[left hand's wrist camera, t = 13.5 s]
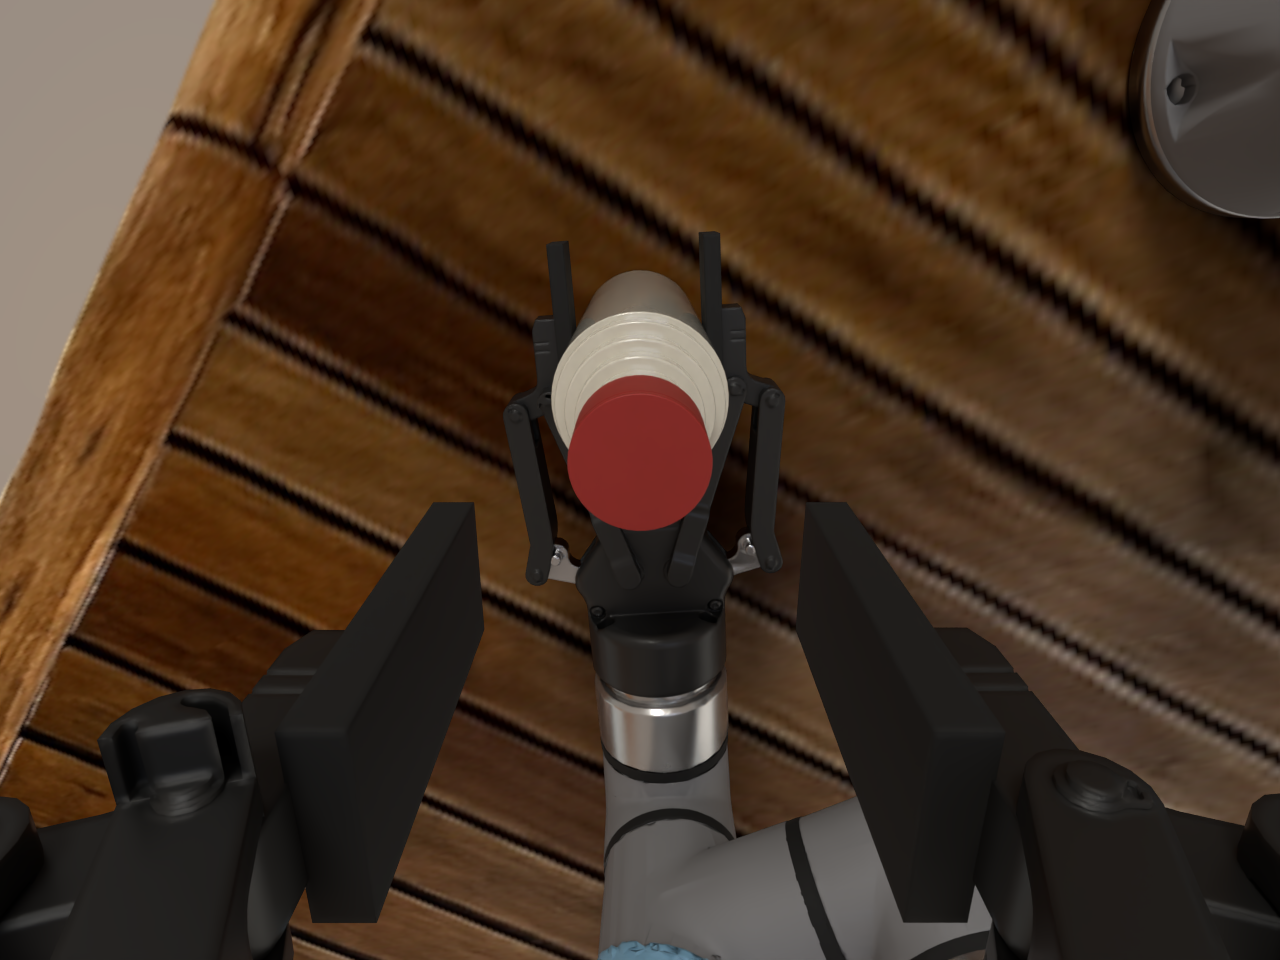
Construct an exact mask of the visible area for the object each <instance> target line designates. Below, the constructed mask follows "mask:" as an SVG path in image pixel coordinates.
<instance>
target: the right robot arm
mask: <svg viewBox="0 0 1280 960" xmlns="http://www.w3.org/2000/svg"><path fill="white" fill-rule="evenodd" d="M546 248H547V257H548V267H549V277H550V287H551V297H552V307H553V315H547V316H538V318H537V319H536V320H535V323H534V326H533V330H532V334H533V343H534V351H535V361H536V370H537V386H536V387H534V388H532V389H530V390H528V391H526V392H523V393H518V394H516V395H515V396H514V397H513V398H512V399H511V401H510V402H509V404H508V405H507V407H506V408H505V410H504V413H503V419H504V423H505V428H506V433H507V437H508V442H509V447H510V451H511V456H512V461H513V465H514V470H515V475H516V479H517V484H518V489H519V493H520V498H521V503H522V507H523V512H524V517H525V521H526V526H527V531H528V535H529V540H530V551H529V557H528V563H527V568H526V579H527V581H528V582H529V583H530V584H532V585H535V586H540V585H543V584H544V583H545V582H546V581H547V579H554V580H559V581H565V582H570V583H575V584H576V587H577V589H578V591H579V592H580V594H581V595H582V596H583V598H584V599H585V601H586V604H587V608H588V617H589V627H590V637H591V648H592V658H593V665H594V669H595V671H596V675H595V690H596V699H597V708H598V717H599V727H600V734H601V744H602V749H603V760H604V776H605V791H606V827H605V845H604V876H605V885H604V897H603V908H602V919H601V930H600V942H599V953H598V959H597V960H984V955H985V950H986V946H987V941H988V937H989V932H990V927H991V923H992V918H991V916H990V914H989V912H988V910H987V908H986V906H985V904H984V902H983V900H982V898H981V896H980V894H979V892H978V890H977V888H976V886H975V888H974V893H973V898H972V903H971V908H970V913H969V918H968V923H903V921H902V918H901V915H900V912H899V910H898V907H897V904H896V901H895V899H894V896H893V893H892V891H891V888H890V885H889V882H888V880H887V877H886V874H885V871H884V869H883V866H882V863H881V861H880V858H879V855H878V852H877V850H876V847H875V844H874V841H873V839H872V836H871V833H870V831H869V828H868V825H867V822H866V820H865V817H864V814H863V811H862V809H861V806H860V803H859V800H858V798H857V796H856V797H854V798H851V799H848V800H846V801H843V802H841V803H838V804H835V805H833V806H830V807H827V808H825V809H822V810H820V811H817V812H814V813H812V814H809V815H807V816H804V817H798V818H795V819H792V820H790V821H785V822H782V823H779V824H776V825H774V826H771V827H768V828H765V829H762V830H759V831H757V832H754V833H751V834H748V835H745V836H742V837H740V838H737V839H736V833H735V827H734V820H733V813H732V806H731V796H730V780H729V763H728V747H727V742H728V699H727V671H726V668H725V665H724V664H725V661H726V632H725V595H726V592H727V589H728V587H729V586H730V584H731V582H732V580H733V576H734V575H735V574H739V573H742V572H745V571H748V570H752V569H755V568H758V567H761V569H762V570H763V571H765V572H768V573H774V572H776V571H778V570H779V569H780V568H781V566H782V564H783V562H782V557H781V553H780V550H779V547H778V544H777V540H776V537H775V534H774V523H775V512H776V500H777V489H778V477H779V466H780V455H781V443H782V432H783V420H784V409H785V396H784V394H783V393H782V391H781V390H780V388H779V387H778V386H777V385H776V383H775V382H774V381H773V380H772V379H770V378H761V377H758V376H754V375H752V374H750V373H748V372H747V369H746V331H745V329H746V322H745V316H744V313H743V311H742V308H741V307H740V306H739V305H738V304H722V294H721V254H720V233H718V232H715V231H711V232H699V256H700V285H701V315H702V326H703V328H704V330H705V332H706V334H707V336H708V338H709V340H710V342H711V344H712V346H713V348H714V349H715V351H716V353H717V355H718V357H719V359H720V361H721V364H722V366H723V369H724V371H725V375H726V379H727V383H728V391H729V406H728V413H727V418H726V421H725V425H724V428H723V430H722V432H721V435H720V437H719V439H718V440H717V442H716V444H715V445H714V447H713V448H712V457H713V468H712V474H711V479H710V482H709V485H708V487H707V490H706V492H705V494H704V495H703V497H702V499H701V500H700V502H699V503H698V504H697V505H696V506H695V508H694V509H693V510H691V511H690V512H689V513H688V514H687V515H686V516H684V517H683V518H682V519H680V520H678V521H676V522H675V523H673V524H670V525H668V526H665V527H662V528H659V529H655V530H647V531H633V530H626V529H621V528H618V527H615V526H612V525H610V524H608V523H606V522H604V521H602V520H600V519H599V518H597V517H596V516H594V515H593V514H592V513H591V512H590V511H588V512H589V514H590V518H591V522H592V525H593V527H594V530H595V532H596V534H597V536H596V537H595V539H594V540H593V542H592V543H591V545H590V546H589V548H588V549H587V551H586V552H585V554H584V555H583V557H582V558H581V560H578V559H575V558H574V557H573V556H572V555H571V553H570V549H569V544H568V543H567V541H566V540H564V539H563V538H557V532H558V522H557V515H556V510H555V505H554V500H553V495H552V490H551V485H550V480H549V475H548V470H547V465H546V460H545V455H544V450H543V445H542V440H541V435H540V430H539V424H538V419H537V418H538V417H541V416H543V415H544V416H545V419H546V421H547V423H548V425H549V427H550V429H551V432H552V434H553V436H554V438H555V440H556V442H557V445H558V447H559V449H560V451H561V453H562V455H563V458H564V460H565V462H566V464H567V459H568V448H567V447H566V445H565V443H564V442H563V440H562V438H561V436H560V434H559V432H558V430H557V427H556V424H555V421H554V417H553V412H552V403H551V393H552V384H553V379H554V375H555V372H556V369H557V366H558V364H559V362H560V360H561V358H562V356H563V354H564V352H565V350H566V348H567V346H568V344H569V342H570V340H571V338H572V336H573V334H574V332H575V330H576V320H575V309H574V298H573V287H572V276H571V265H570V254H569V243H568V241H559V242H551V243H549V244H547V245H546ZM744 403H746V404H749V405H752V413H751V427H750V441H749V455H748V469H747V483H746V496H745V518H746V523H747V527H744V528H742V529H740V530H739V531H738V532H737V534H736V544H735V546H734V548H733V549H732V550H730V551H728V552H726V551H725V549H724V548H723V547H722V546H721V545H720V544H719V543H718V541H717V540H716V539H715V538H714V537H713V536H712V534H711V533H710V532H709V531H708V530H707V529H706V526H707V523H708V519H709V515H710V507H711V504H712V501H713V498H714V494H715V491H716V488H717V485H718V482H719V479H720V476H721V473H722V469H723V466H724V463H725V460H726V457H727V454H728V451H729V448H730V444H731V441H732V438H733V435H734V432H735V429H736V426H737V423H738V419H739V416H740V413H741V410H742V407H743V404H744ZM567 466H568V464H567Z"/></svg>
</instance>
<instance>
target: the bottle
mask: <svg viewBox="0 0 1280 960" xmlns="http://www.w3.org/2000/svg"><path fill="white" fill-rule="evenodd" d="M632 375H648V376H654V377H659V378H662V379H664V380H667V381H669V382H671V383H673V384H675V385H677V386H678V387H679V388H681V389H682V390H683V391H685V392H686V393H687V394H688V395H689V396H690V397H691V399H692V400H693V401H694V403H695V404H696V406H697V407H698V409H699V411H700V413H701V416H702V418H703V421H704V425H705V428H706V431H707V435H708V438H709V442H710V445H711V449H712V448H713V447H714V445H715V444H716V442H717V440H718V439H719V437H720V435H721V432H722V430H723V428H724V425H725V421H726V418H727V413H728V406H729V391H728V383H727V379H726V375H725V371H724V369H723V366H722V364H721V361H720V359H719V357H718V355H717V353H716V351H715V349H714V348H713V346H712V344H711V342H710V340H709V338H708V336H707V334H706V332H705V330H704V328H703V326H702V324H701V322H700V320H699V318H698V316H697V314H696V313H695V311H694V309H693V307H692V305H691V303H690V301H689V299H688V297H687V296H686V294H685V293H684V292H683V290H682V289H681V288H680V287H679V286H678V285H677V284H676V283H674V282H673V281H672V280H670V279H669V278H667V277H665V276H663V275H661V274H658V273H655V272H651V271H643V270H641V271H630V272H625V273H622V274H619V275H617V276H615V277H613V278H611V279H610V280H608V281H607V282H606V283H605V284H603V285H602V286H601V287H600V288H599V289H598V290H597V292H596V293H595V294H594V296H593V297H592V299H591V301H590V303H589V305H588V307H587V309H586V311H585V313H584V315H583V317H582V319H581V321H580V323H579V325H578V327H577V329H576V330H575V332H574V334H573V336H572V338H571V340H570V342H569V344H568V346H567V348H566V350H565V352H564V354H563V356H562V358H561V360H560V362H559V364H558V366H557V369H556V372H555V375H554V379H553V384H552V393H551V403H552V412H553V417H554V421H555V424H556V427H557V430H558V432H559V434H560V436H561V438H562V440H563V442H564V443H565V445H566V447H567V448H568V450H569V446H570V442H571V438H572V435H573V432H574V428H575V425H576V421H577V418H578V416H579V413H580V411H581V409H582V407H583V406H584V404H585V403H586V401H587V400H588V399H589V398H590V397H591V396H592V394H593V393H594V392H596V391H597V390H598V389H599V388H601V387H602V386H604V385H605V384H607V383H609V382H611V381H613V380H615V379H618V378H622V377H625V376H632Z"/></svg>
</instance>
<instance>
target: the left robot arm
mask: <svg viewBox="0 0 1280 960" xmlns="http://www.w3.org/2000/svg"><path fill="white" fill-rule="evenodd" d="M1129 110H1130V119H1131V124H1132V129H1133V133H1134V136H1135V139H1136V143H1137V146H1138V148H1139V150H1140V153H1141V155H1142V157H1143V159H1144V161H1145V163H1146V164H1147V166H1148V168H1149V169H1150V171H1151V172H1152V174H1153V175H1154V176H1155V177H1156V179H1157V180H1158V181H1159V182H1160V183H1161V184H1162V185H1163V186H1164V187H1165V188H1166V189H1167V190H1168V191H1169V192H1170V193H1171V194H1173V195H1174V196H1175V197H1176V198H1178V199H1179V200H1181V201H1183V202H1184V203H1186V204H1188V205H1190V206H1192V207H1194V208H1196V209H1198V210H1201V211H1204V212H1207V213H1210V214H1214V215H1219V216H1225V217H1236V218H1280V0H1152V1H1151V3H1150V5H1149V7H1148V9H1147V12H1146V14H1145V16H1144V19H1143V21H1142V24H1141V27H1140V30H1139V33H1138V36H1137V39H1136V43H1135V47H1134V51H1133V56H1132V61H1131V67H1130V76H1129ZM483 631H484V620H483V608H482V596H481V583H480V571H479V559H478V546H477V534H476V521H475V509H474V502H433V504H432V505H431V507H430V508H429V510H428V511H427V513H426V514H425V515H424V517H423V518H422V520H421V521H420V523H419V524H418V526H417V527H416V528H415V530H414V531H413V533H412V534H411V536H410V537H409V539H408V540H407V541H406V543H405V544H404V546H403V547H402V549H401V550H400V551H399V553H398V554H397V556H396V557H395V559H394V560H393V562H392V563H391V564H390V566H389V567H388V569H387V570H386V572H385V573H384V575H383V576H382V577H381V579H380V580H379V582H378V583H377V585H376V586H375V588H374V589H373V590H372V592H371V593H370V595H369V596H368V598H367V599H366V601H365V602H364V603H363V605H362V606H361V608H360V609H359V611H358V612H357V614H356V615H355V616H354V618H353V619H352V621H351V622H350V624H349V625H348V627H347V628H346V629H345V630H313V631H311V632H310V633H308V634H307V635H305V636H304V637H302V638H301V639H299V640H298V641H296V642H295V643H293V644H291V645H290V646H288V647H287V648H285V649H284V650H283V652H282V653H281V654H280V655H279V657H278V658H277V659H276V660H275V662H274V663H273V664H272V665H271V667H270V668H269V669H268V670H267V675H263V677H262V678H261V679H260V680H259V682H258V683H257V684H256V686H255V687H254V688H253V692H252V694H248V696H247V697H246V698H245V699H244V701H243V702H242V703H241V701H240V700H239V699H238V698H236V697H235V696H234V695H233V694H231V693H230V692H226V691H221V690H216V689H211V688H210V689H195V690H185V691H181V692H177V693H173V694H169V695H165V696H161V697H158V698H156V699H153V700H151V701H149V702H147V703H144V704H142V705H140V706H138V707H135V708H133V709H132V710H130V711H129V712H127V713H126V714H124V715H123V716H121V717H120V718H118V719H117V720H116V721H114V722H113V723H111V724H110V725H109V727H108V728H107V729H106V730H105V731H104V733H103V734H102V735H101V736H100V737H99V739H98V740H97V741H98V744H99V748H100V751H101V755H102V758H103V761H104V765H105V768H106V771H107V775H108V778H109V781H110V785H111V788H112V791H113V795H114V798H115V801H116V805H117V806H116V808H115V810H114V811H112V812H109V813H105V814H102V815H98V816H93V817H89V818H84V819H80V820H75V821H71V822H66V823H62V824H57V825H53V826H48V827H44V828H39V829H36V826H35V824H34V821H33V818H32V815H31V812H30V809H29V807H28V806H26V805H25V804H24V803H22V802H21V801H20V800H18V799H17V798H9V797H0V960H293V955H294V951H293V944H292V937H291V932H290V927H289V923H288V922H289V920H290V918H291V916H292V914H293V912H294V910H295V908H296V906H297V904H298V902H299V900H300V897H301V895H302V893H303V891H304V889H305V888H306V893H307V898H308V903H309V908H310V913H311V918H312V923H377V921H378V918H379V915H380V912H381V910H382V907H383V904H384V901H385V899H386V896H387V893H388V891H389V888H390V885H391V882H392V880H393V877H394V874H395V871H396V869H397V866H398V863H399V861H400V858H401V855H402V852H403V850H404V847H405V844H406V841H407V839H408V836H409V833H410V830H411V828H412V825H413V822H414V820H415V817H416V814H417V811H418V809H419V806H420V803H421V800H422V798H423V795H424V792H425V790H426V787H427V784H428V781H429V779H430V776H431V773H432V770H433V768H434V765H435V762H436V760H437V757H438V754H439V751H440V749H441V746H442V743H443V740H444V738H445V735H446V732H447V730H448V727H449V724H450V721H451V719H452V716H453V713H454V710H455V708H456V705H457V702H458V700H459V697H460V694H461V691H462V689H463V686H464V683H465V680H466V678H467V675H468V672H469V670H470V667H471V664H472V661H473V659H474V656H475V653H476V650H477V648H478V645H479V642H480V640H481V637H482V634H483ZM796 631H797V634H798V637H799V640H800V642H801V645H802V648H803V650H804V653H805V656H806V659H807V661H808V664H809V667H810V670H811V672H812V675H813V678H814V680H815V683H816V686H817V689H818V691H819V694H820V697H821V700H822V702H823V705H824V708H825V710H826V713H827V716H828V719H829V721H830V724H831V727H832V730H833V732H834V735H835V738H836V740H837V743H838V746H839V749H840V751H841V754H842V757H843V760H844V762H845V765H846V768H847V770H848V773H849V776H850V779H851V781H852V784H853V787H854V790H855V792H856V795H857V798H858V800H859V803H860V806H861V809H862V811H863V814H864V817H865V820H866V822H867V825H868V828H869V831H870V833H871V836H872V839H873V841H874V844H875V847H876V850H877V852H878V855H879V858H880V861H881V863H882V866H883V869H884V871H885V874H886V877H887V880H888V882H889V885H890V888H891V891H892V893H893V896H894V899H895V901H896V904H897V907H898V910H899V912H900V915H901V918H902V921H903V923H968V918H969V913H970V908H971V903H972V898H973V893H974V888H975V886H976V888H977V890H978V892H979V894H980V896H981V898H982V900H983V902H984V904H985V906H986V908H987V910H988V912H989V914H990V916H991V918H992V923H991V927H990V932H989V937H988V941H987V946H986V950H985V955H984V960H1280V794H1269V795H1264V796H1262V797H1261V798H1260V799H1258V800H1257V801H1256V802H1254V803H1253V804H1252V806H1251V809H1250V812H1249V815H1248V818H1247V821H1246V824H1245V826H1243V825H1238V824H1234V823H1229V822H1225V821H1220V820H1215V819H1211V818H1206V817H1202V816H1197V815H1193V814H1188V813H1184V812H1179V811H1176V810H1172V809H1169V808H1165V807H1164V804H1163V803H1162V801H1161V800H1160V799H1159V797H1158V796H1157V794H1156V793H1155V792H1154V790H1153V789H1152V787H1151V786H1150V785H1148V784H1147V783H1146V782H1144V781H1143V780H1142V779H1141V778H1139V777H1138V776H1137V775H1136V774H1134V773H1133V772H1132V771H1131V770H1129V769H1127V768H1125V767H1123V766H1121V765H1119V764H1117V763H1115V762H1113V761H1111V760H1109V759H1107V758H1104V757H1101V756H1098V755H1094V754H1091V753H1087V752H1084V751H1080V750H1079V749H1078V748H1077V747H1076V746H1075V744H1074V743H1073V742H1072V741H1071V739H1070V738H1069V737H1068V736H1067V734H1066V733H1065V732H1064V731H1063V729H1062V728H1061V727H1060V726H1059V724H1058V723H1057V722H1056V721H1055V719H1054V718H1053V717H1052V716H1051V715H1050V713H1049V712H1048V711H1047V710H1046V708H1045V707H1044V706H1043V705H1042V703H1041V702H1040V701H1039V700H1038V698H1037V697H1036V696H1035V695H1034V693H1033V692H1032V691H1028V686H1027V685H1026V683H1025V682H1024V681H1023V680H1022V678H1021V677H1020V676H1019V675H1018V674H1017V673H1014V671H1013V667H1012V666H1011V665H1010V664H1009V662H1008V661H1007V660H1006V659H1005V657H1004V656H1003V655H1002V654H1001V652H1000V651H999V650H998V649H997V647H996V646H994V645H993V644H991V643H990V642H988V641H987V640H985V639H984V638H982V637H980V636H979V635H977V634H976V633H974V632H973V631H971V630H970V629H968V628H933V627H932V625H931V624H930V622H929V621H928V619H927V618H926V616H925V615H924V614H923V612H922V611H921V609H920V608H919V606H918V605H917V603H916V602H915V601H914V599H913V598H912V596H911V595H910V593H909V592H908V590H907V589H906V588H905V586H904V585H903V583H902V582H901V580H900V579H899V577H898V576H897V575H896V573H895V572H894V570H893V569H892V567H891V566H890V564H889V563H888V562H887V560H886V559H885V557H884V556H883V554H882V553H881V551H880V550H879V549H878V547H877V546H876V544H875V543H874V541H873V540H872V539H871V537H870V536H869V534H868V533H867V531H866V530H865V528H864V527H863V526H862V524H861V523H860V521H859V520H858V518H857V517H856V515H855V514H854V513H853V511H852V510H851V508H850V507H849V505H848V504H847V502H806V509H805V521H804V534H803V546H802V558H801V571H800V583H799V596H798V608H797V620H796Z"/></svg>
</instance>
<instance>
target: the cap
mask: <svg viewBox="0 0 1280 960" xmlns="http://www.w3.org/2000/svg"><path fill="white" fill-rule="evenodd" d="M567 464H568V474H569V479H570V482H571V485H572V488H573V490H574V492H575V494H576V496H577V497H578V498H579V500H580V501H581V503H582V504H583V505H584V506H585V507H586V508H587V510H588V511H590V512H591V513H592V514H593V515H594V516H596V517H597V518H599V519H600V520H602V521H604V522H606V523H608V524H610V525H612V526H615V527H618V528H621V529H626V530H633V531H647V530H655V529H659V528H662V527H665V526H668V525H670V524H673V523H675V522H676V521H678V520H680V519H682V518H683V517H684V516H686V515H687V514H688V513H689V512H690V511H691V510H693V509H694V508H695V506H696V505H697V504H698V503H699V502H700V500H701V499H702V497H703V495H704V494H705V492H706V490H707V487H708V485H709V482H710V479H711V474H712V468H713V457H712V449H711V445H710V442H709V438H708V435H707V431H706V428H705V425H704V421H703V418H702V416H701V413H700V411H699V409H698V407H697V406H696V404H695V403H694V401H693V400H692V399H691V397H690V396H689V395H688V394H687V393H686V392H685V391H683V390H682V389H681V388H679V387H678V386H677V385H675V384H673V383H671V382H669V381H667V380H664V379H662V378H659V377H654V376H648V375H632V376H625V377H622V378H618V379H615V380H613V381H611V382H609V383H607V384H605V385H604V386H602V387H601V388H599V389H598V390H597V391H596V392H594V393H593V394H592V396H591V397H590V398H589V399H588V400H587V401H586V403H585V404H584V406H583V407H582V409H581V411H580V413H579V416H578V418H577V421H576V425H575V428H574V432H573V435H572V438H571V442H570V446H569V450H568V459H567Z"/></svg>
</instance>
